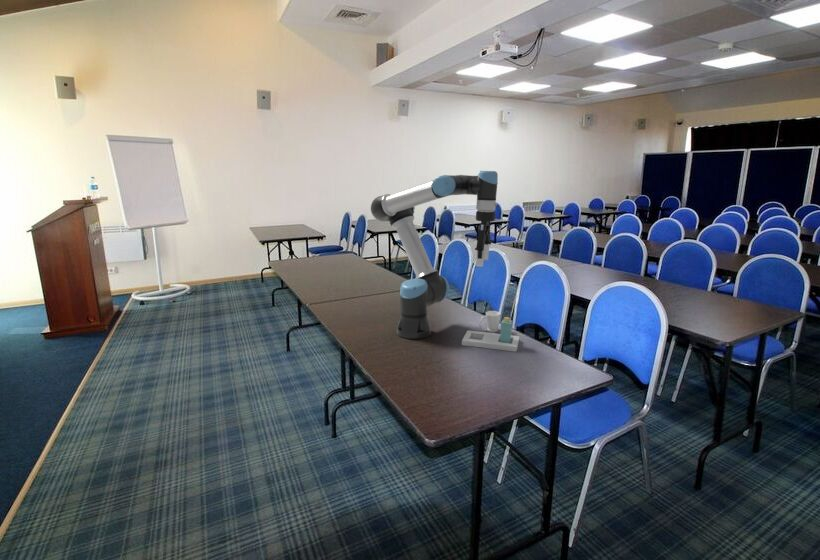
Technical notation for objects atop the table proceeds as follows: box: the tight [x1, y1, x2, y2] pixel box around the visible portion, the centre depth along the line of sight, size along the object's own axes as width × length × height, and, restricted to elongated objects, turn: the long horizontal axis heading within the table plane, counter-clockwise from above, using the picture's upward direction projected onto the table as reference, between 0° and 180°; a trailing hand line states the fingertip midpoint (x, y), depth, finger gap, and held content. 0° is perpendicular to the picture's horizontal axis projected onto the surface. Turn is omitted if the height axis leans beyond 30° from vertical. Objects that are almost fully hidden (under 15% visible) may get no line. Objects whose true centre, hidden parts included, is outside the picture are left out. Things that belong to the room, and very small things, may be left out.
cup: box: [478, 310, 502, 333], centre depth 187 cm, size 7×10×8 cm
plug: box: [500, 316, 513, 343], centre depth 171 cm, size 4×4×12 cm
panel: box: [461, 330, 520, 353], centre depth 174 cm, size 22×12×2 cm, turn 71°
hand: (482, 262), depth 172 cm, fingers open, 13 cm apart
